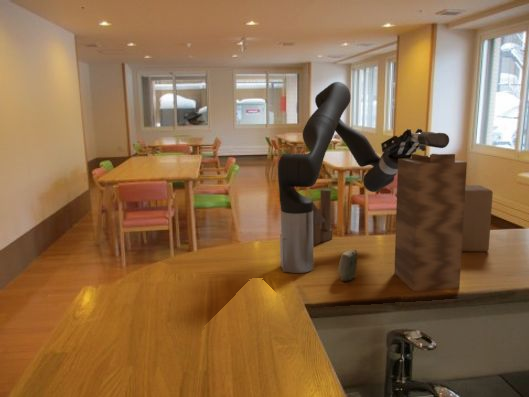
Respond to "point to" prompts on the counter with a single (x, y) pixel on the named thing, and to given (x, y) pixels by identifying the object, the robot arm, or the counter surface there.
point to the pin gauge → (430, 139)
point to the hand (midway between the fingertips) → (415, 131)
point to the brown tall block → (430, 221)
